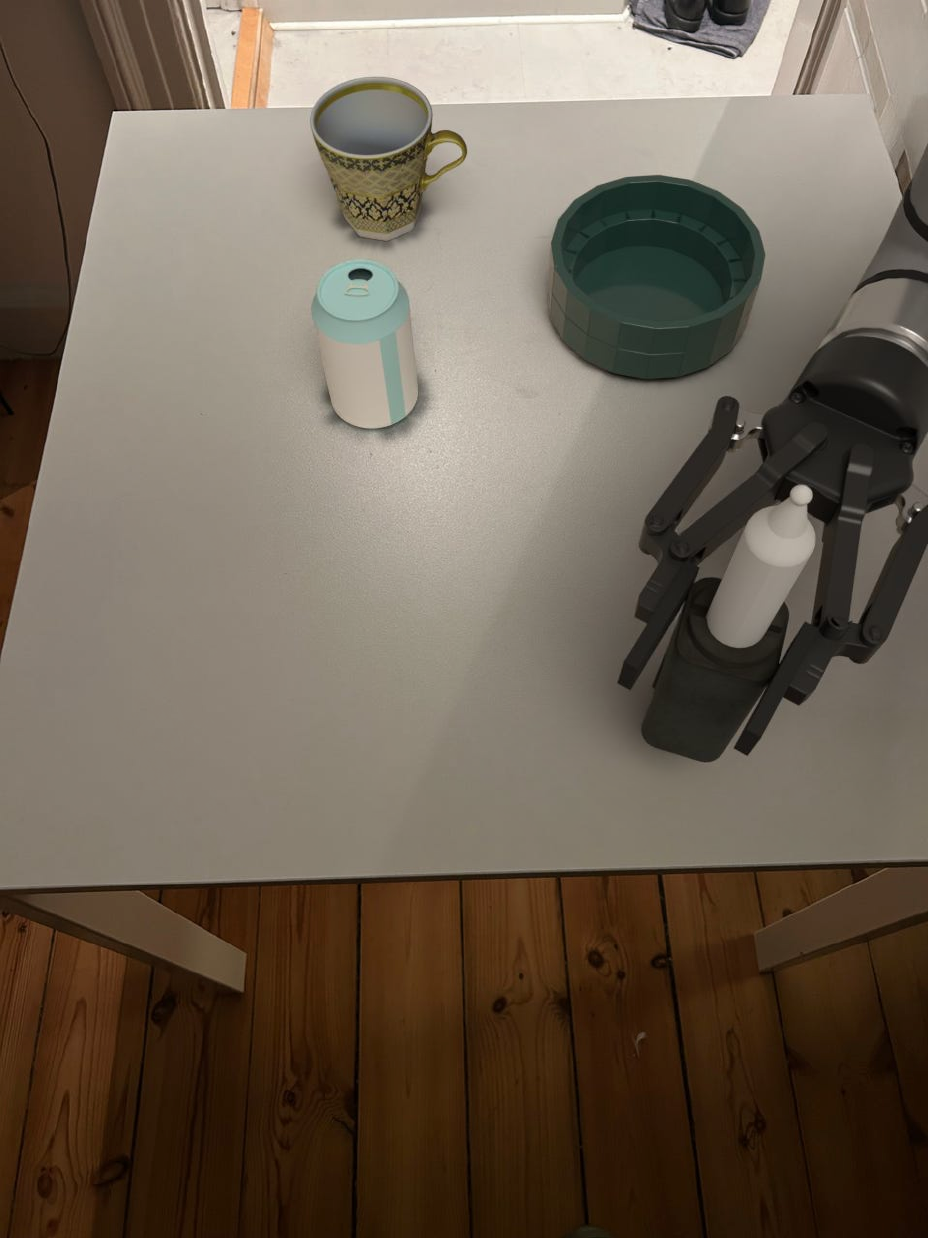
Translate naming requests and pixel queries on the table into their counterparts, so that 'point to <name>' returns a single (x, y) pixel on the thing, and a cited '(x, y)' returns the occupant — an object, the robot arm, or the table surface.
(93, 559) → the table surface
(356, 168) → the ceramic cup
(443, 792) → the table surface
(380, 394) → the can
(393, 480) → the table surface
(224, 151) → the table surface
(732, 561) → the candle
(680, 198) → the bowl
